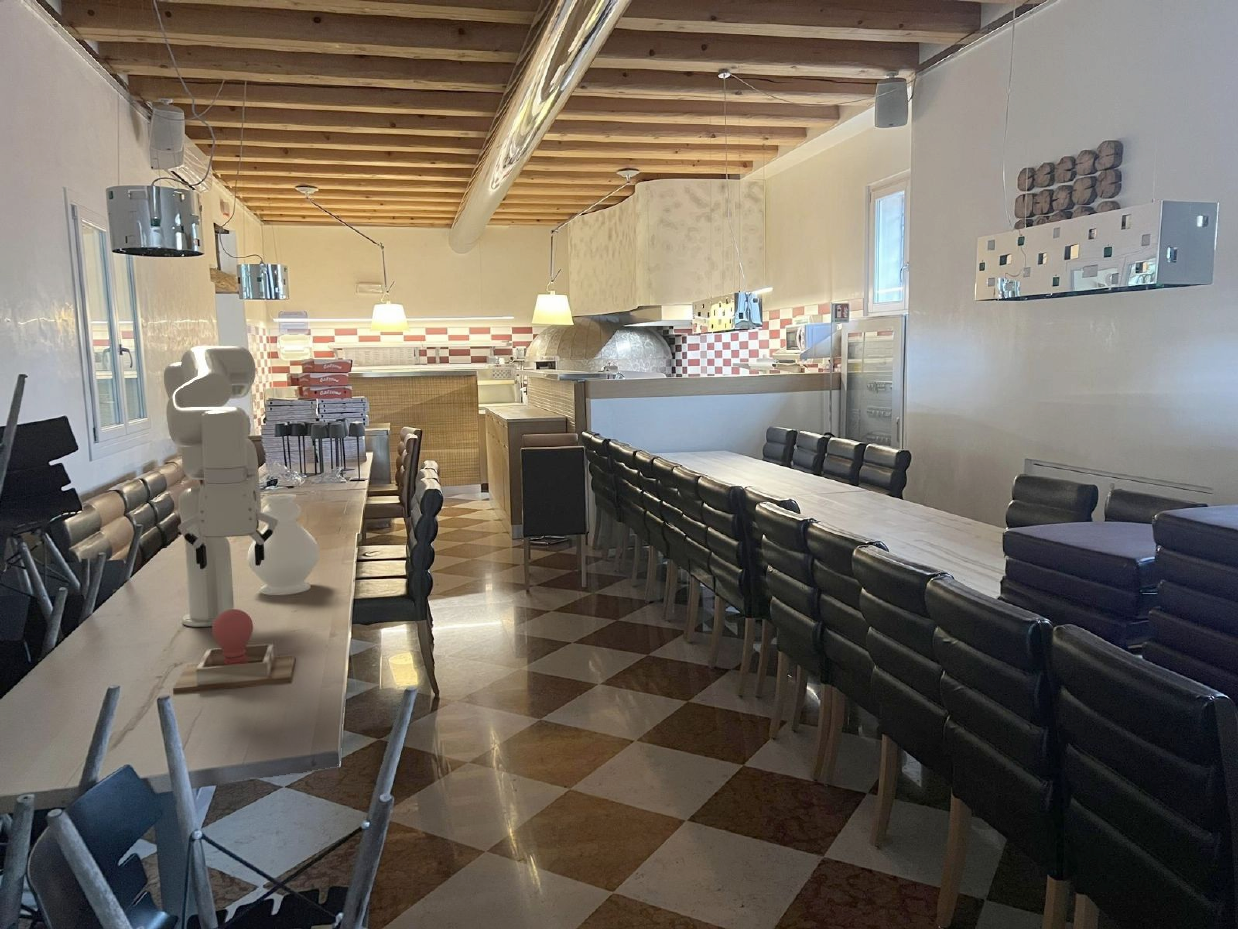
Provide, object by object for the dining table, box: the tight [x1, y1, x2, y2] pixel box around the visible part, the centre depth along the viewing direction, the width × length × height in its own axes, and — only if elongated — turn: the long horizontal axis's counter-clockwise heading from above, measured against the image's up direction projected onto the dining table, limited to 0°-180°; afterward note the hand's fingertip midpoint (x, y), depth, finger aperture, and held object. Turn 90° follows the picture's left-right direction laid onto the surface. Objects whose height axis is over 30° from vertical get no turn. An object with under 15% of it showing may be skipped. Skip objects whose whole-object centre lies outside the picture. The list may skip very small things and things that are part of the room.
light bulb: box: [211, 608, 254, 665], centre depth 169 cm, size 7×7×12 cm
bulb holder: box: [172, 643, 297, 695], centre depth 169 cm, size 13×20×4 cm, turn 106°
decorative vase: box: [247, 493, 321, 596], centre depth 233 cm, size 18×18×25 cm
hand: (231, 565), depth 167 cm, fingers open, 9 cm apart
